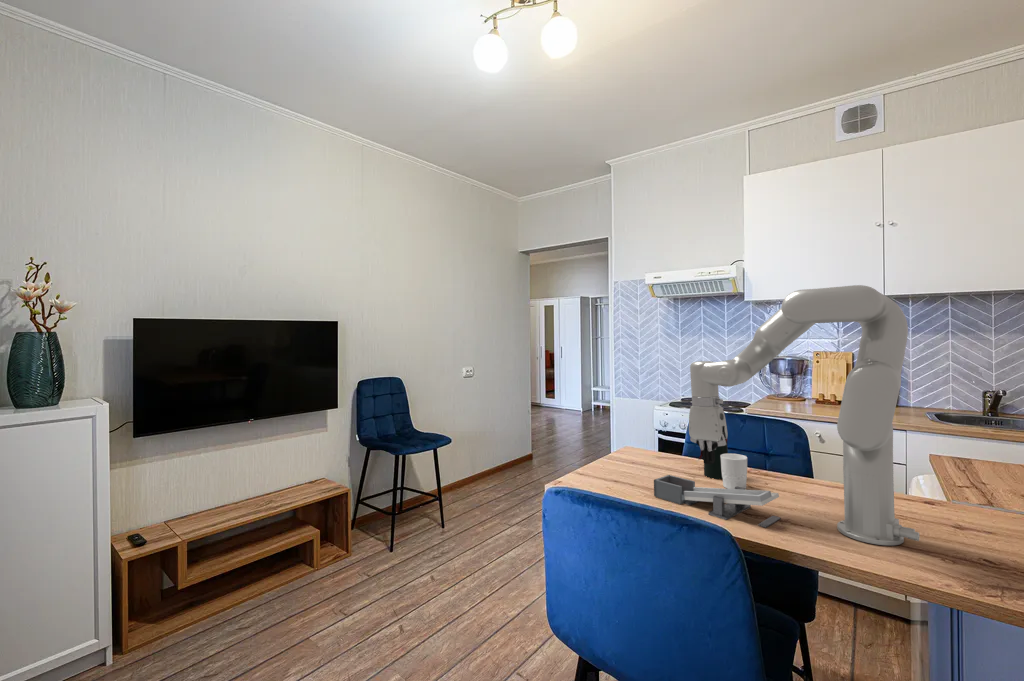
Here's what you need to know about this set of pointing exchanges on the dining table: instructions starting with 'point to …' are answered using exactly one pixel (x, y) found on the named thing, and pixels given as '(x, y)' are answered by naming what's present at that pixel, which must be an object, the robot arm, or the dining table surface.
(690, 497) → the seesaw
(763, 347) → the robot arm
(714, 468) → the wine bottle
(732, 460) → the white cup
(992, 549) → the dining table surface
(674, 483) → the grey open cubby box
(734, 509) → the stand
